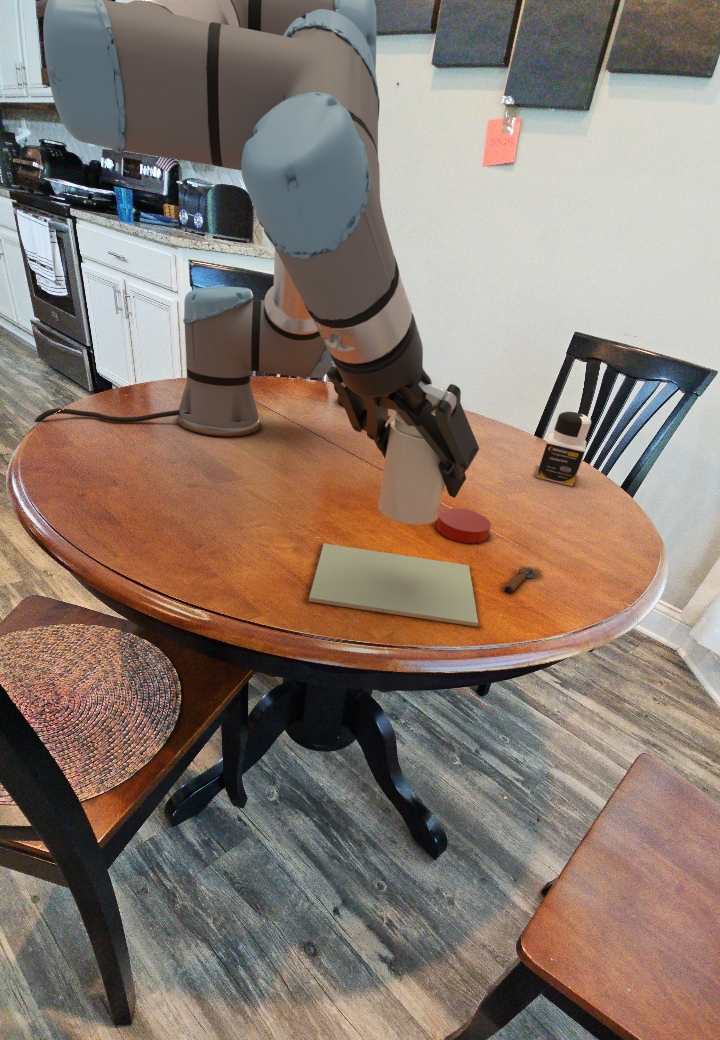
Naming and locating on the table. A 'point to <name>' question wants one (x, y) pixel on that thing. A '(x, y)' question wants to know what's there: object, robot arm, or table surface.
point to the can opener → (520, 579)
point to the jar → (410, 477)
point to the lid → (463, 525)
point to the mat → (394, 585)
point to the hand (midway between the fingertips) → (428, 475)
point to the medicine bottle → (565, 449)
